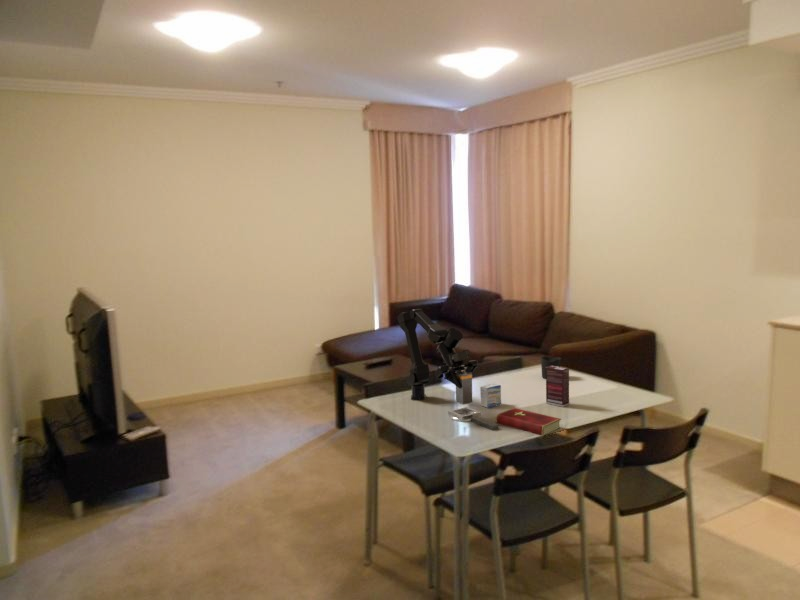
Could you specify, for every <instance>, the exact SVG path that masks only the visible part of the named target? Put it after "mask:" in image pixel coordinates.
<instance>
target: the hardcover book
mask: <svg viewBox="0 0 800 600" xmlns="http://www.w3.org/2000/svg"><path fill="white" fill-rule="evenodd" d="M495 416H496V417H495V420H496V421H495V422H496V424H498V425H501V426H504V427H509V428H513V429H517V430H521V431H525V432H527V433H531V434H535V435H539V436H543V437H544V436H545V435H546V434H549V433H551V432H553V431H555V430H558V429H559V428H560V421H562V419H561V418H559V417H556V416H551V415H547V414H542V413H539V412H534V411H531V410H525V409H522V408H518V407H513V408H510V409H507V410H504V411H502V412H500V413H497V414H496V415H495Z"/></svg>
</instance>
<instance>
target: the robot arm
mask: <svg viewBox="0 0 800 600" xmlns="http://www.w3.org/2000/svg"><path fill="white" fill-rule="evenodd" d="M397 322H398V325H399V328H400V329H401V330H402V331H403V332H404V335H405V338H406V339H405V340H406V343H407V348H408V352H409V357H410V360H411V361H410V362H411V365H410V369H409V374H410V375H409V376H408V377H407V378H406V384H407V385H408V386H410V387H411V394H410V400H426V399H427V398H426V397H427V396H426V394H425V389H426V388H425V385H429V384H430V377H431V370H430V368H429V364H428V363H425V362H424V360H423V357H422V353H421V349H420V344H419V339H418V335H417V332H416V331H417V328H418V325H420V327H421V328H422V329H423V330H424V331H425V332H426V333H427V338H428V339H429V341H430V343H432V344H438V345H437V346H436V351H435V352H436V353H440V355H441V357H442V359H443V360H442V364H444V365H439V366H438V367H437V369H436V370H435V372H434V377H435V378H436V380H438V379H439V380H440V379H444V380H447V381H448V382H449V383H452V384H453V385H455V387H456V386H457V387H459V388H462V386H461V384H460V382H459V380H458V378H457V376H456V373H457V372H462V371H466V372H470V373H472V374H473V372H474V371H475V370H476V369H477V368H478V367H479V365H480V364H479V362H478V360H476V359H472V360H469V358H470V357H471V356H472V355H471V351H470V350H469V348H467V349H464V350H462V351H461V352H459V351H456V350H455V348H457V347H458V345H459V344H460V343H461V341H462V340H463V337H464V334H463V332H461V331H459V330H458V329H456V328H455V327H454V326H453V327H449V329H446V328H445V327H443V326H441V325H439V324H436V323H435V322H434V321H433V320H432V319H431V318H430V317H429V316H428V315H427V314H425V313H424V310H423V309H422V308H416V309H415V308H413V309H411V310H409V311H405V312H404V311H403V312H399V313H398V316H397ZM466 360H467V362H466V363H465V361H466ZM464 363H465V364H464Z"/></svg>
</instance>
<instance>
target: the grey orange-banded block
mask: <svg viewBox="0 0 800 600" xmlns="http://www.w3.org/2000/svg"><path fill="white" fill-rule="evenodd" d="M456 376H457V378H458V380H459V382H460V384H461V386H462V388H459V387H457V386H456V385H455V402H456V403H458V404H460V405H468V404H472V403H473V372H472V373H470V372H466V371H456Z"/></svg>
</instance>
